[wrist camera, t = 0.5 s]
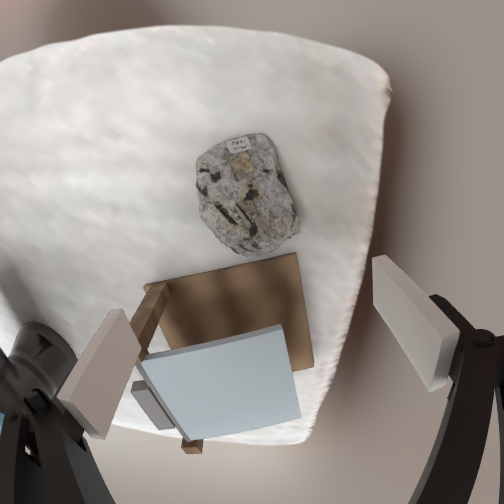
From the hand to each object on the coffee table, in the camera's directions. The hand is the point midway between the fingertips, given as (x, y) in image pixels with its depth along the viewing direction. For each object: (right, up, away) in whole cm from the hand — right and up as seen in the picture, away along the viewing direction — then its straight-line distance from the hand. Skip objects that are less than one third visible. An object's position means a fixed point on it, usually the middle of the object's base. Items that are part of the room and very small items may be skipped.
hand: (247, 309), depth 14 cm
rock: (0, +10, +23) cm, 25 cm away
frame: (-2, -9, +30) cm, 32 cm away
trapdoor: (-4, -14, +19) cm, 24 cm away
